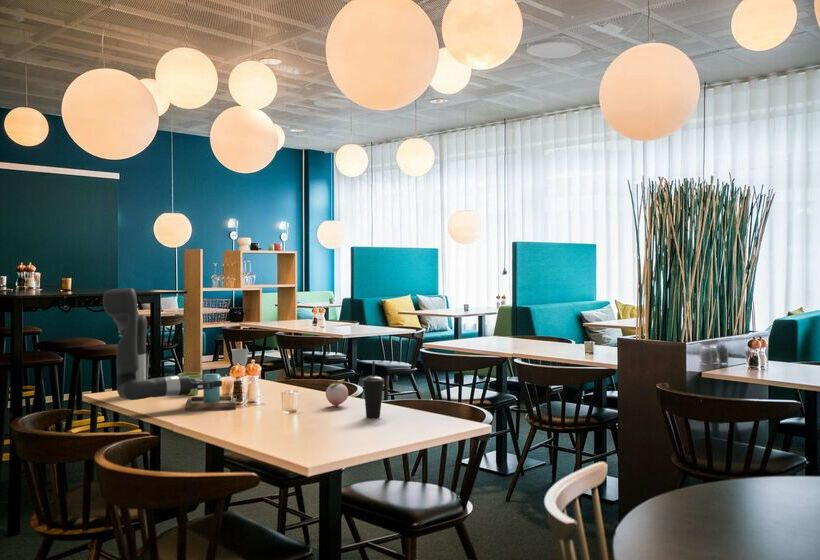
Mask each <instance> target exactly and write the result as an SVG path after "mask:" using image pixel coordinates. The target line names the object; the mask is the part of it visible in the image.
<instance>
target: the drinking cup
mask: <svg viewBox="0 0 820 560" xmlns="http://www.w3.org/2000/svg"><path fill="white" fill-rule="evenodd" d="M375 363H376V362H375V361H374V360H373V361H372V375H368V376H366V377H365V378H362V381H363V391H364V404H365V407H364V408H365V417H366V418H367V419H372V418H374V419H380V418H381V409H382V398H383V390H384V381H385V379H384V378H383V377H381V376H378V375H375V365H376V364H375ZM379 417H380V418H379Z"/></svg>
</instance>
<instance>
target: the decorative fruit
mask: <svg viewBox="0 0 820 560" xmlns="http://www.w3.org/2000/svg"><path fill="white" fill-rule="evenodd" d="M325 397H326V399H327V401H328V402H329V404H330V405H333V406H334V407H338V406H340V405H342V404H343V403H344V402H346V400H347V399H348V397H349V390H348V388H347V386H346V385H345V384H343V383H342V382H338V380H336V381H335V383H330V385H329V386H328V387H326V390H325Z"/></svg>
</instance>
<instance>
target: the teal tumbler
mask: <svg viewBox="0 0 820 560" xmlns="http://www.w3.org/2000/svg"><path fill="white" fill-rule="evenodd" d="M203 379H204V380H207V381H221V375H220V373H205V374H203ZM207 386H209V384H207ZM202 394H203V403H219V402H220V396H221V387H213V389H204V390H203V393H202Z"/></svg>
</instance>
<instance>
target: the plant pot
mask: <svg viewBox="0 0 820 560" xmlns="http://www.w3.org/2000/svg"><path fill="white" fill-rule="evenodd" d="M177 375H188V376H189V377H190V378H202V377H201V376H202V375H203V373H202V372H196V371H195V372H191V371H190V372H182V373H178V374H177ZM198 394H199V390H194V389H191V391H190V393H189V394H188V395H186V396H188V397H190V396H196V395H198Z"/></svg>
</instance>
